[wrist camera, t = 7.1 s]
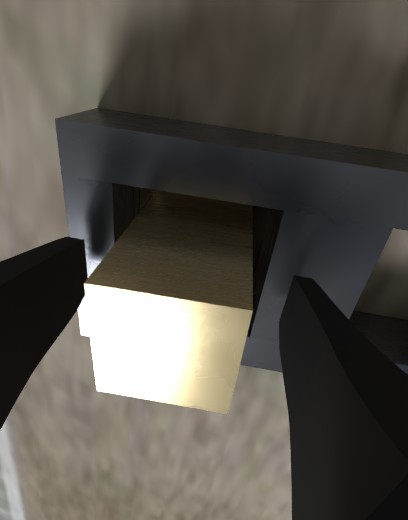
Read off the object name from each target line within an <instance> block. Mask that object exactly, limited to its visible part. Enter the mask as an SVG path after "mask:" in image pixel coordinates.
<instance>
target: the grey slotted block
mask: <svg viewBox="0 0 408 520" xmlns="http://www.w3.org/2000/svg"><path fill="white" fill-rule="evenodd" d="M55 123H56V131H57V140H58V148H59V157H60V165H61V173H62V182H63V190H64V199H65V207H66V215H67V224H68V232H69V237H72V238H78V239H84V241H85V252H86V263H87V274H88V277H89V276H90V275H91V274H92V272H93V271H94V270H95V268H96V267H97V266H98V265H99V263H100V262H101V261H102V259H103V258H104V257H105V256H106V254H107V253H108V252H109V250H110V249H111V248H112V247H113V245H114V244H115V243H116V241H117V240H118V239H119V238H120V236H121V235H122V234H123V233H124V231H125V230H126V229H127V227H128V226H129V225H130V224H131V222H132V221H133V220H134V218H135V217H136V216H137V215H138V213H139V187H141V188H147V189H153V190H160V191H166V192H172V193H178V194H184V195H191V196H197V197H203V198H209V199H216V200H222V201H228V202H234V203H240V204H247V205H253V206H259V207H265V208H271V211H270V215H269V219H268V223H267V227H266V231H265V235H264V239H263V243H262V247H261V251H260V255H259V259H258V263H257V267H256V271H255V275H254V280H253V312H252V317H251V321H250V325H249V329H248V333H247V337H246V342H245V346H244V350H243V354H242V358H241V363H240V365H245V366H251V367H256V368H261V369H267V370H272V371H278V372H283V371H282V364H281V357H280V350H279V320H280V317H281V313H282V310H283V307H284V304H285V301H286V298H287V295H288V292H289V289H290V286H291V283H292V280H293V277H294V275H296V276H302V277H307V278H313V279H314V280H315V282H316V283H317V284H318V285H319V286H320V287H321V288H322V290H323V291H324V292H325V293H326V294H327V295H328V297H329V298H330V299H331V300H332V301H333V302H334V304H335V305H336V306H337V307H338V308H339V309H340V310H341V312H342V313H343V314H344V315H345V316H346V317H347V318H348V319H349V320H350V321H351V323H352V324H353V325H354V326H355V327H356V328H357V329H358V330H359V331H360V332H361V333H362V334H363V335H364V336H365V337H366V338H367V339H368V340H369V341H370V342H371V343H372V344H373V345H374V346H375V347H376V348H377V349H379V350H380V351H381V352H382V353H383V354H384V355H385V356H386V357H388V358H389V359H390V360H391V361H392V362H393V363H394V364H396V365H397V366H398V367H399V368H400V369H401V370H403V371H404V372H405V373H406V374H408V320H402V319H396V318H391V317H385V316H379V315H373V314H368V313H362V312H356V311H353V310H354V308H355V306H356V304H357V302H358V300H359V298H360V296H361V294H362V292H363V289H364V287H365V285H366V283H367V281H368V279H369V277H370V275H371V273H372V271H373V269H374V267H375V265H376V262H377V260H378V258H379V256H380V254H381V252H382V250H383V248H384V246H385V244H386V242H387V240H388V238H389V235H390V233H391V231H392V229H393V228H396V229H402V230H408V155H406V154H400V153H393V152H386V151H380V150H373V149H366V148H360V147H353V146H346V145H340V144H333V143H326V142H320V141H313V140H306V139H299V138H293V137H286V136H279V135H273V134H266V133H259V132H253V131H246V130H239V129H233V128H226V127H219V126H213V125H206V124H199V123H193V122H186V121H179V120H173V119H166V118H159V117H152V116H146V115H139V114H132V113H126V112H119V111H112V110H106V109H99V108H95V109H91V110H87V111H84V112H80V113H76V114H72V115H68V116H64V117H60V118H56V119H55ZM78 316H79V324H80V333H81V335H83V336H88V337H90V330H89V322H88V314H87V305H86V297H85V296H84V298H83V300H82V302H81V304H80V305H79V307H78Z"/></svg>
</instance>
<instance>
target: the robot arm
mask: <svg viewBox="0 0 408 520" xmlns="http://www.w3.org/2000/svg"><path fill="white" fill-rule="evenodd" d="M87 279H88V274H87V263H86V252H85V241H84V239H78V238H72V237H64V238H61V239H58V240H55V241H52V242H50V243H47V244H44V245H42V246H39V247H37V248H34V249H32V250H29V251H27V252H24V253H22V254H19V255H17V256H14V257H12V258H9V259H6V260H3V261H1V262H0V429H1V428H2V426H3V424H4V422H5V420H6V418H7V417H8V415H9V413H10V411H11V409H12V407H13V405H14V404H15V402H16V400H17V398H18V397H19V395H20V393H21V391H22V390H23V388H24V386H25V385H26V383H27V381H28V379H29V378H30V376H31V374H32V373H33V371H34V370H35V368H36V367H37V365H38V364H39V362H40V361H41V359H42V358H43V357H44V355H45V354H46V353H47V351H48V350H49V348H50V347H51V346H52V344H53V343H54V342H55V340H56V339H57V337H58V336H59V335H60V333H61V332H62V331H63V329H64V328H65V326H66V325H67V324H68V322H69V321H70V319H71V318H72V317H73V315H74V314H75V312H76V311H77V309H78V307H79V305H80V304H81V302H82V300H83V298H84V296H85V289H84V282H85V281H86V280H87ZM279 350H280V357H281V364H282V371H283V378H284V385H285V392H286V399H287V405H288V413H289V423H290V445H291V476H292V520H408V374H406V373H405V372H404V371H403V370H401V369H400V368H399V367H398V366H397V365H396V364H394V363H393V362H392V361H391V360H390V359H389V358H388V357H386V356H385V355H384V354H383V353H382V352H381V351H380V350H379V349H377V348H376V347H375V346H374V345H373V344H372V343H371V342H370V341H369V340H368V339H367V338H366V337H365V336H364V335H363V334H362V333H361V332H360V331H359V330H358V329H357V328H356V327H355V326H354V325H353V324H352V323H351V321H350V320H349V319H348V318H347V317H346V316H345V315H344V314H343V313H342V312H341V310H340V309H339V308H338V307H337V306H336V305H335V304H334V302H333V301H332V300H331V299H330V298H329V297H328V295H327V294H326V293H325V292H324V291H323V290H322V288H321V287H320V286H319V285H318V284H317V283H316V282H315V280H314V279H313V278H307V277H302V276H296V275H294V277H293V280H292V283H291V286H290V289H289V292H288V295H287V298H286V301H285V304H284V307H283V310H282V313H281V317H280V320H279Z"/></svg>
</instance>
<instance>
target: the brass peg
mask: <svg viewBox="0 0 408 520" xmlns="http://www.w3.org/2000/svg"><path fill="white" fill-rule="evenodd" d="M84 289H85V297H86V305H87V314H88V322H89V330H90V339H91V347H92V355H93V363H94V372H95V380H96V388H97V390H98V391H103V392H109V393H114V394H120V395H125V396H131V397H136V398H142V399H147V400H153V401H158V402H164V403H169V404H175V405H180V406H186V407H191V408H197V409H202V410H208V411H213V412H219V413H224V414H228V413H229V409H230V405H231V400H232V396H233V392H234V388H235V384H236V379H237V375H238V371H239V367H240V363H241V358H242V354H243V350H244V346H245V342H246V337H247V333H248V329H249V325H250V321H251V317H252V312H253V232H252V205H247V204H240V203H234V202H228V201H222V200H216V199H209V198H203V197H197V196H191V195H184V194H178V193H172V192H166V191H160V190H156V192H155V193H154V194H153V195H152V197H151V198H150V199H149V200H148V202H147V203H146V204H145V206H144V207H143V208H142V209H141V211H140V212H139V213H138V215H137V216H136V217H135V218H134V220H133V221H132V222H131V224H130V225H129V226H128V227H127V229H126V230H125V231H124V233H123V234H122V235H121V236H120V238H119V239H118V240H117V241H116V243H115V244H114V245H113V247H112V248H111V249H110V250H109V252H108V253H107V254H106V256H105V257H104V258H103V259H102V261H101V262H100V263H99V265H98V266H97V267H96V268H95V270H94V271H93V272H92V274H91V275H90V276H89V277H88V279H87V280H86V281H85V282H84Z"/></svg>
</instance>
